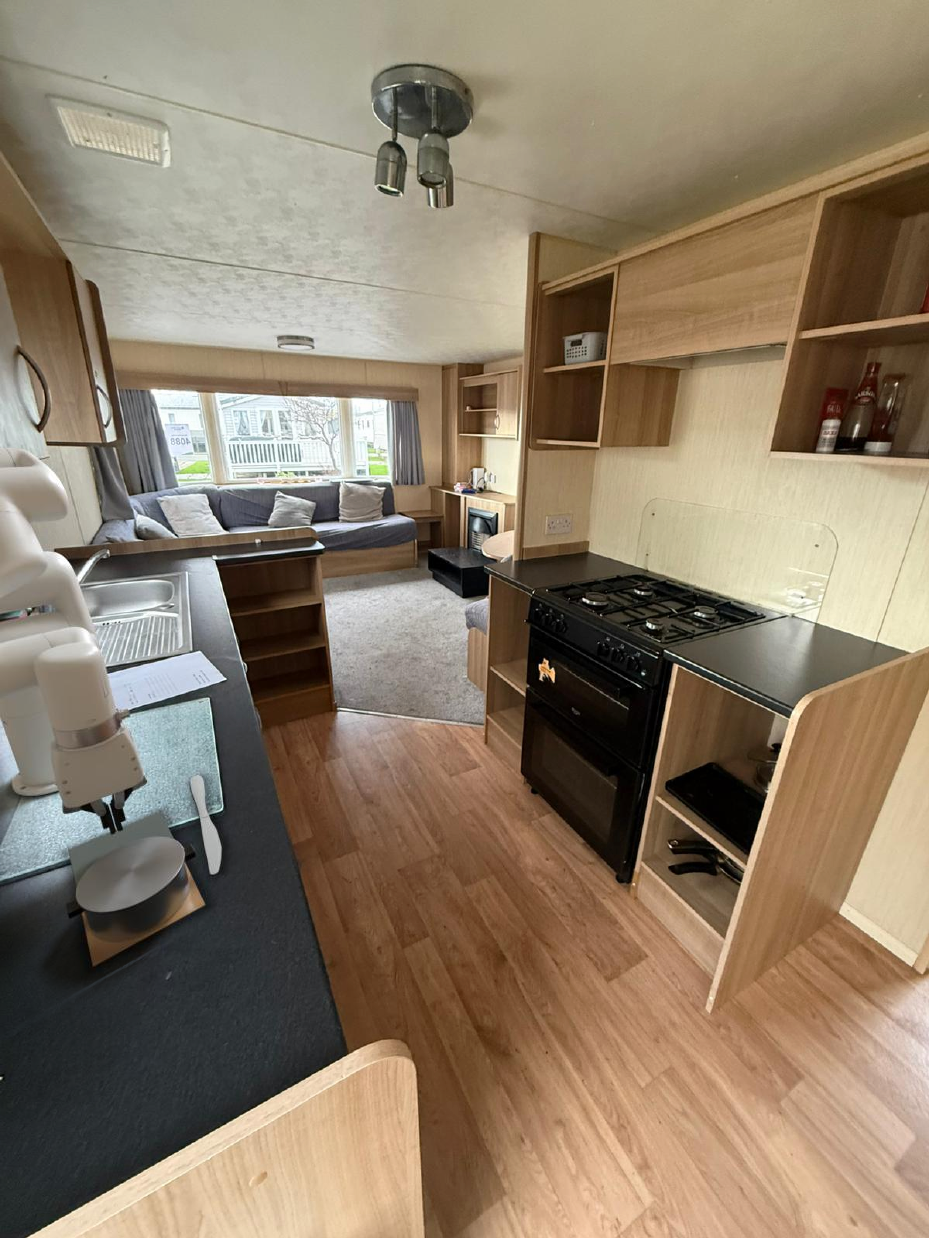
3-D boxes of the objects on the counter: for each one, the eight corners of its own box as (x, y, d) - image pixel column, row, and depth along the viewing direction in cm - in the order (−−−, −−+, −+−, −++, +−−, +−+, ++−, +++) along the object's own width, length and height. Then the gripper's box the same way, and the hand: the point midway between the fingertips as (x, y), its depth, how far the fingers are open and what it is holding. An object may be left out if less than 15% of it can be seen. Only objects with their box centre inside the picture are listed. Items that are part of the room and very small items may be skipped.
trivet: (79, 902, 71) (79, 900, 71) (180, 854, 79) (180, 852, 79) (93, 967, 62) (93, 966, 62) (205, 906, 70) (205, 904, 70)
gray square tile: (68, 851, 79) (68, 849, 79) (161, 812, 88) (160, 811, 88) (79, 902, 71) (79, 900, 71) (180, 854, 79) (180, 852, 79)
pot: (69, 904, 70) (58, 873, 68) (186, 848, 80) (179, 819, 78) (83, 971, 61) (71, 937, 59) (212, 899, 71) (205, 868, 69)
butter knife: (206, 771, 97) (189, 776, 96) (227, 869, 76) (205, 876, 74) (206, 774, 98) (189, 778, 96) (227, 872, 76) (205, 879, 75)
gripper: (141, 700, 79) (162, 793, 86) (18, 735, 70) (52, 837, 76) (153, 720, 74) (174, 818, 81) (21, 761, 65) (58, 868, 71)
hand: (115, 827), depth 79 cm, fingers closed
